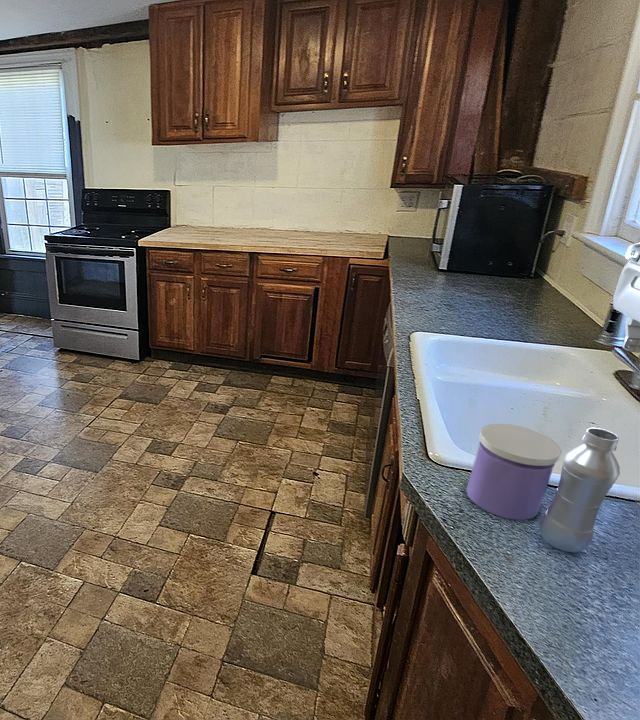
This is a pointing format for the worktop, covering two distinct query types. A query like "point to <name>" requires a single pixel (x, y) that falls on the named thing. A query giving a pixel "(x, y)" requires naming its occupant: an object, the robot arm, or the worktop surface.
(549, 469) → the jar
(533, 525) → the worktop surface
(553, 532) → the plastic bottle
